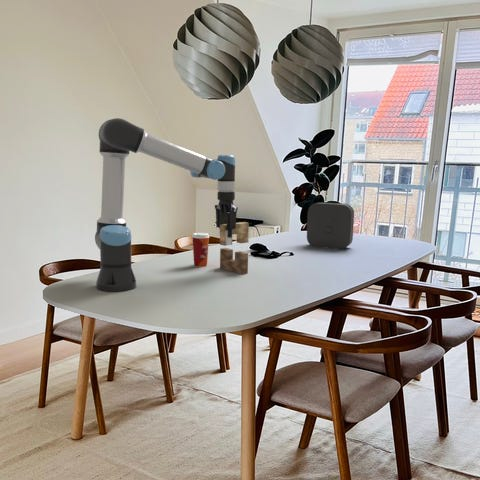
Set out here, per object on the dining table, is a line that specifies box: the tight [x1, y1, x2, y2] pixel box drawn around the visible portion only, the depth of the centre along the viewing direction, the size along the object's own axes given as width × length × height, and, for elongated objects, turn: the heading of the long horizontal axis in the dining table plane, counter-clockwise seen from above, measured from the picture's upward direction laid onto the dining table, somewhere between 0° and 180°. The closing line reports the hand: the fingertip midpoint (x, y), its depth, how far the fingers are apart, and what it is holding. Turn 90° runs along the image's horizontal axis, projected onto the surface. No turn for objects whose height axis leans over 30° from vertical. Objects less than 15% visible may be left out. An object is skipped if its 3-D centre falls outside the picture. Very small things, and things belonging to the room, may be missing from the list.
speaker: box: [306, 202, 355, 250], centre depth 305 cm, size 25×9×25 cm, turn 67°
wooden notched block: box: [219, 247, 249, 275], centre depth 242 cm, size 16×3×9 cm, turn 40°
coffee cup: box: [191, 232, 210, 268], centre depth 250 cm, size 8×8×15 cm
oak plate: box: [219, 221, 250, 247], centre depth 240 cm, size 14×3×9 cm, turn 130°
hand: (225, 244), depth 237 cm, fingers closed on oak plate, 3 cm apart
